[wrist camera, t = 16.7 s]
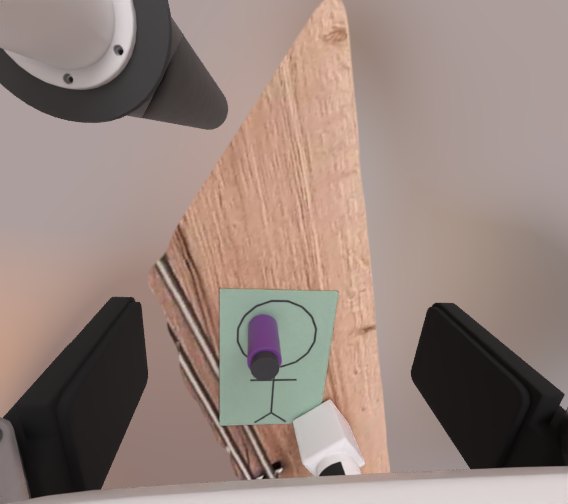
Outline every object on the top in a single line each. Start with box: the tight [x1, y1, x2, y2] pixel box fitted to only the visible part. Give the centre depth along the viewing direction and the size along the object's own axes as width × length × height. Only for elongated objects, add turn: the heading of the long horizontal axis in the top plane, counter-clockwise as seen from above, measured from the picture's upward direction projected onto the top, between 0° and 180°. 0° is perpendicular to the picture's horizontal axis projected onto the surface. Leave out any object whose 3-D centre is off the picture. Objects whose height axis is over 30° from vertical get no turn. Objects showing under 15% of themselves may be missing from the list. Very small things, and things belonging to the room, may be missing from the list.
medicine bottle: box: [293, 400, 365, 477], centre depth 44 cm, size 7×7×12 cm
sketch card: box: [220, 288, 339, 426], centre depth 45 cm, size 24×16×1 cm, turn 176°
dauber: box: [247, 314, 282, 381], centre depth 38 cm, size 4×4×9 cm
